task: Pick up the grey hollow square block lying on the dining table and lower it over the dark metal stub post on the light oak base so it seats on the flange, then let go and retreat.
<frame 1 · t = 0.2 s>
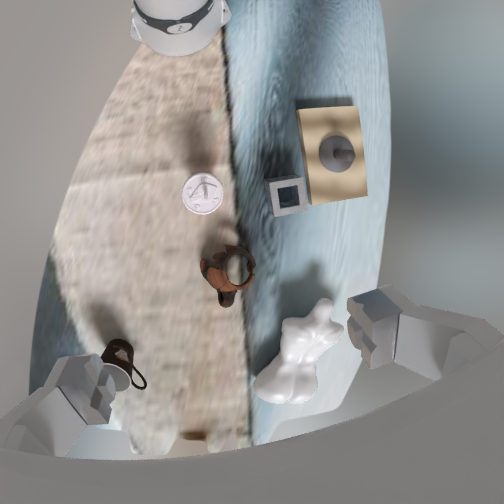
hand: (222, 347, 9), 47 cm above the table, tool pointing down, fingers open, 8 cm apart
post block: (332, 153, 54), on the table
brown hollow curved piece: (225, 268, 60), on the table
coffee mug: (124, 353, 63), on the table
grey hollow square block: (281, 192, 56), on the table
smoothie: (203, 185, 53), on the table
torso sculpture: (295, 341, 69), on the table
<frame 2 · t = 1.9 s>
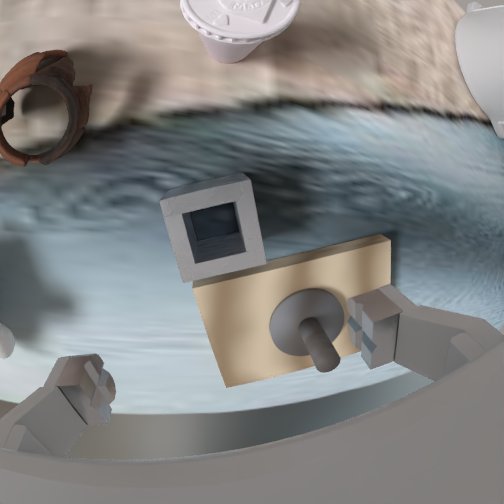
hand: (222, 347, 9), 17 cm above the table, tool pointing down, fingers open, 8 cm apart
post block: (300, 310, 29), on the table
brown hollow curved piece: (45, 106, 19), on the table
grey hollow square block: (213, 215, 25), on the table
smoothie: (228, 44, 20), on the table
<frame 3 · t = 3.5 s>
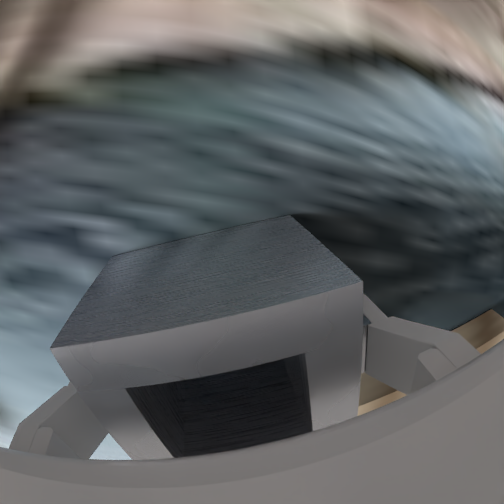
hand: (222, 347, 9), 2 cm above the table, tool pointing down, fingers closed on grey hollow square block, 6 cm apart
post block: (362, 431, 15), on the table
grey hollow square block: (219, 314, 11), on the table, touching gripper
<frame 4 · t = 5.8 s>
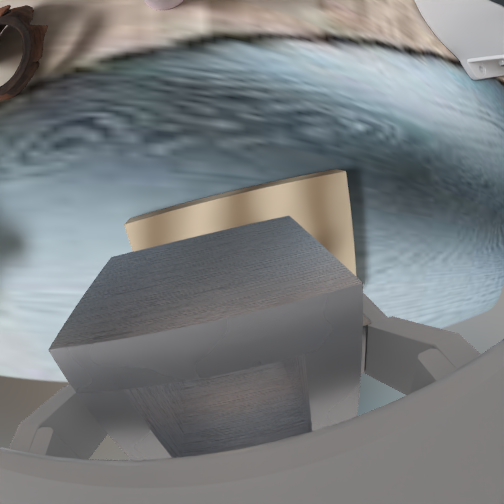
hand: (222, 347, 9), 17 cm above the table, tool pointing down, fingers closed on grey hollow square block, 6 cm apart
post block: (249, 257, 26), on the table
brown hollow curved piece: (11, 56, 16), on the table
grey hollow square block: (218, 315, 11), point 15 cm above the table, touching gripper
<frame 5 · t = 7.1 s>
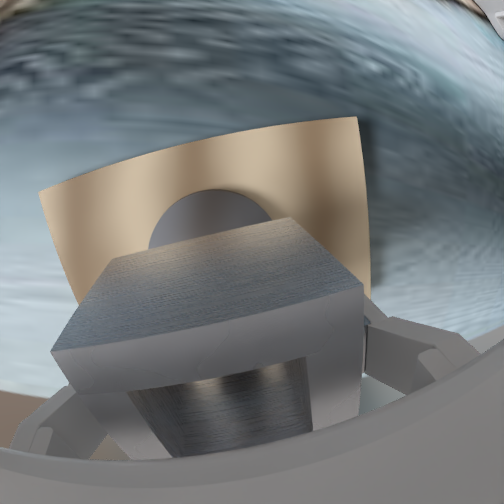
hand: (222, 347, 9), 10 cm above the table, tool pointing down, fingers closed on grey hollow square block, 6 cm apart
post block: (214, 242, 18), on the table
grey hollow square block: (219, 316, 11), point 8 cm above the table, touching gripper
when the fingers open (7 cm above the table, at t = 8.2 s): grey hollow square block drops 2 cm, resting on post block.
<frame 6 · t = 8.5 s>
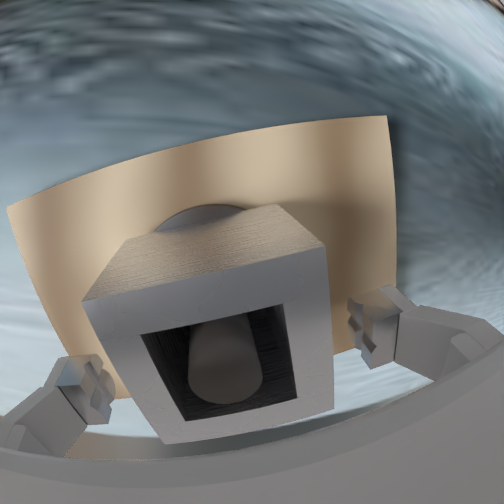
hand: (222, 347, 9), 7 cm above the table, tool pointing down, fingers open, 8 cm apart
post block: (214, 265, 15), on the table
grey hollow square block: (217, 290, 12), point 3 cm above the table, touching post block
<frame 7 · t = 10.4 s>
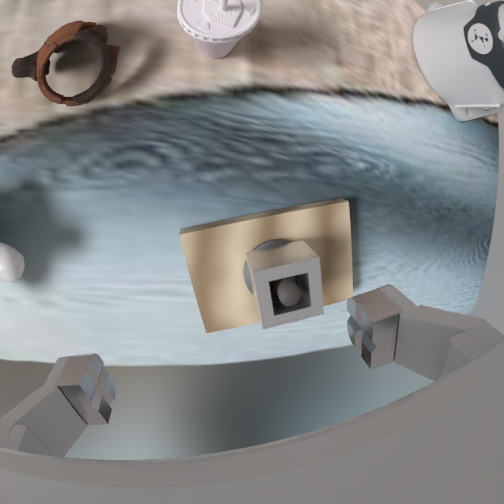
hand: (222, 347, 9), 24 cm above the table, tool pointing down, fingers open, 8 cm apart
post block: (272, 263, 34), on the table
brown hollow curved piece: (76, 66, 23), on the table
grey hollow square block: (278, 272, 32), point 3 cm above the table, touching post block
smoothie: (214, 44, 25), on the table
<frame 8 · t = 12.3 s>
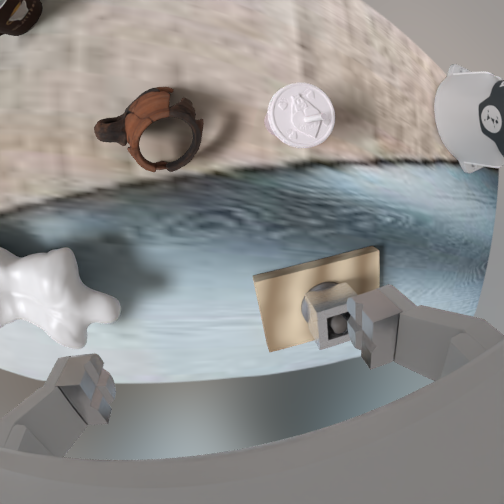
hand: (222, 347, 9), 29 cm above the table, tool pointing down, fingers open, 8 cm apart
post block: (319, 297, 43), on the table
brown hollow curved piece: (153, 128, 32), on the table
coffee mug: (18, 24, 22), on the table
grey hollow square block: (327, 306, 41), point 3 cm above the table, touching post block
smoothie: (279, 121, 34), on the table
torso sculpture: (40, 277, 36), on the table
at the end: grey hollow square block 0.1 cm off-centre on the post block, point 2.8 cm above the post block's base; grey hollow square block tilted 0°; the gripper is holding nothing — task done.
